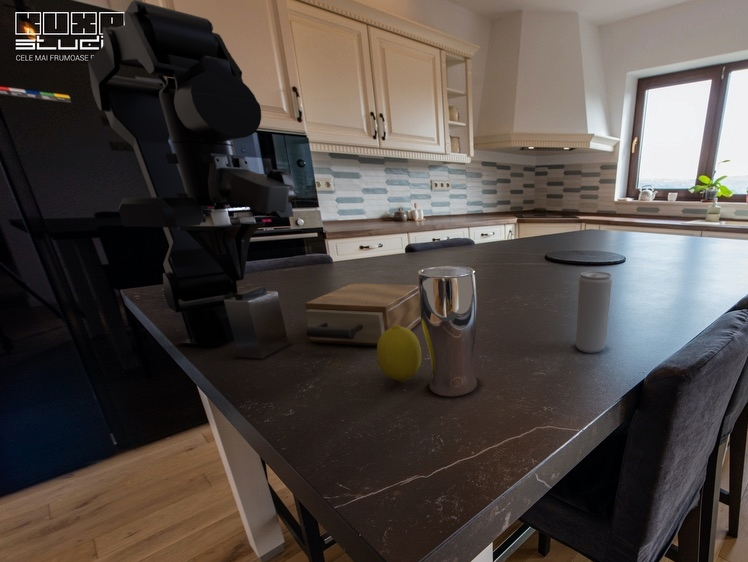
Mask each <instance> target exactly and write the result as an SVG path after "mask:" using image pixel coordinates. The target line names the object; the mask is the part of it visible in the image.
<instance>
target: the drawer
mask: <svg viewBox="0 0 748 562" xmlns="http://www.w3.org/2000/svg"><path fill="white" fill-rule="evenodd" d="M304 313H305V317H306V323H307V328H306V330H305V331H306V332H305V333H306V336H307V337H309V338H310V339H309V340H311V341H313V340H328V341H345V342H361V343H378V341H379V339H380V337H381V335H382V334H383V333H384V332H385V329H384V321H383V313H382V312H375V311H354V310H333V309H309V310H305V311H304Z"/></svg>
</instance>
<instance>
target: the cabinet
mask: <svg viewBox="0 0 748 562" xmlns="http://www.w3.org/2000/svg"><path fill="white" fill-rule="evenodd" d="M418 286H419V285H412V284H389V283H388V284H386V283H363V282H362V283H358V282H357V283H356V282H353V283H350V284H347V285H346V286H343V287H340V288H337V289H336V290H333V291H331V292H329V293H326V294H324V295H321V296H318V297H317V298H313V299H312V300H309V301H307V302H305V308H306V310H309V309H333V310H354V311H375V312H382V313H383V321H384V329H385V331H386V330H388V329H390V328H392V327H393V326H394V325H399V326H401V327H404V328H407V329H409V330H410V331H412V329H413V328H415V327H416V326H418V324H419V323H421V318H420V310H419V290H418ZM306 310H305V311H306ZM312 343H321V344H337V345H352V346H369V347H370V346H371V347H377V345H378V343H361V342H345V341H328V340H312Z"/></svg>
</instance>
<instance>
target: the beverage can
mask: <svg viewBox="0 0 748 562" xmlns="http://www.w3.org/2000/svg"><path fill="white" fill-rule="evenodd" d="M612 282H613V279H612V274H611V273H609V272H605V271H595V270H594V271H593V270H592V271H583V272H581V273H580V277H579V279H578V293H577V294H578V295H577V296H578V297H577V315H576V316H577V319H576V334H575V346H576V349H578V350H579V351H581V352H583V353H588V354H595V353H600V352H602V351H604V350H605V349H606V347H607V339H608V338H607V337H608V326H609V316H610V305H611V294H612Z"/></svg>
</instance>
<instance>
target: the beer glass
mask: <svg viewBox="0 0 748 562" xmlns="http://www.w3.org/2000/svg"><path fill="white" fill-rule="evenodd" d="M475 272H476V271H475V269H474V268H472V267H469V266H467V267H466V266H462V265H461V266H460V265H441V266H432V267H426V268H423V269H420V270H418V272H417V274H418V285H417V286H418V290H419V310H420V318H421V322H420V323H421V327H422V331H423V335H424V338H425V342H426V346H427V349H428V353H429V357H430V378H429V389H430V391H431V392H432V393H433V394H435V395H437V396H440V397H446V398H447V397H451V398H452V397H461V396H464V395H467V394H469V393H471V392H473V391H474V390H475V389H476V388H477V385H478V380H477V376H476V371H475V367H474V366H475V365H474V349H475V342H476V341H475V340H476V335H477V334H476V333H477V327H478V318H479V301H478V291H477V281H476V273H475Z"/></svg>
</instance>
